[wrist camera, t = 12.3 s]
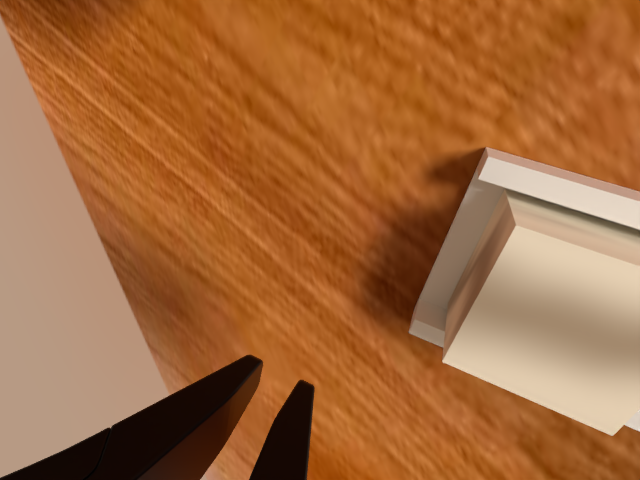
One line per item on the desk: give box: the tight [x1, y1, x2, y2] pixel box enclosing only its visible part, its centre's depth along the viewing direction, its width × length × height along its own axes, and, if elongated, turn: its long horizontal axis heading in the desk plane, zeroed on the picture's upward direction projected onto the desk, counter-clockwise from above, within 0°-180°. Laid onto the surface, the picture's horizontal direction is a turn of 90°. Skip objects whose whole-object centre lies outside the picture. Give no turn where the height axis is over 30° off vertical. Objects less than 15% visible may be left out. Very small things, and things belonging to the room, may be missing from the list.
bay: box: [408, 147, 640, 431], centre depth 16 cm, size 10×18×2 cm, turn 77°
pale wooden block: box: [442, 189, 640, 436], centre depth 16 cm, size 7×8×5 cm
